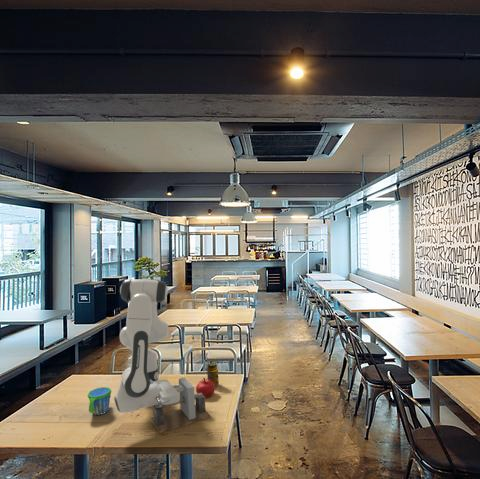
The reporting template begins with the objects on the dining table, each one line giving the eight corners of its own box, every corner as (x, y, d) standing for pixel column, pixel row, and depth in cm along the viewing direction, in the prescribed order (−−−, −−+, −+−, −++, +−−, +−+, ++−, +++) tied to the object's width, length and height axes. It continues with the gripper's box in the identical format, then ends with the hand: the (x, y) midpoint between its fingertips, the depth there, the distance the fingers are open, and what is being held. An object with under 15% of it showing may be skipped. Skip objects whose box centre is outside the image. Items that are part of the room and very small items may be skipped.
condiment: (222, 385, 198) (220, 363, 198) (210, 390, 192) (209, 368, 192) (213, 381, 203) (212, 361, 203) (201, 386, 197) (200, 365, 197)
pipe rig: (158, 433, 152) (157, 412, 152) (150, 419, 164) (149, 399, 164) (210, 417, 163) (209, 397, 163) (199, 405, 176) (198, 387, 175)
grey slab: (189, 419, 159) (187, 388, 159) (180, 408, 170) (178, 378, 170) (195, 418, 160) (193, 386, 160) (186, 406, 172) (184, 377, 172)
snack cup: (99, 421, 165) (98, 399, 165) (80, 419, 168) (79, 398, 168) (119, 405, 180) (118, 385, 180) (101, 403, 183) (100, 384, 183)
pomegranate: (217, 397, 184) (216, 379, 183) (198, 400, 181) (197, 382, 180) (213, 389, 193) (212, 372, 193) (194, 392, 190) (194, 375, 190)
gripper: (158, 396, 149) (190, 388, 155) (147, 380, 167) (176, 373, 174) (159, 411, 149) (191, 402, 155) (148, 393, 167) (176, 386, 174)
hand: (183, 387), depth 165 cm, fingers closed, pressing on grey slab
